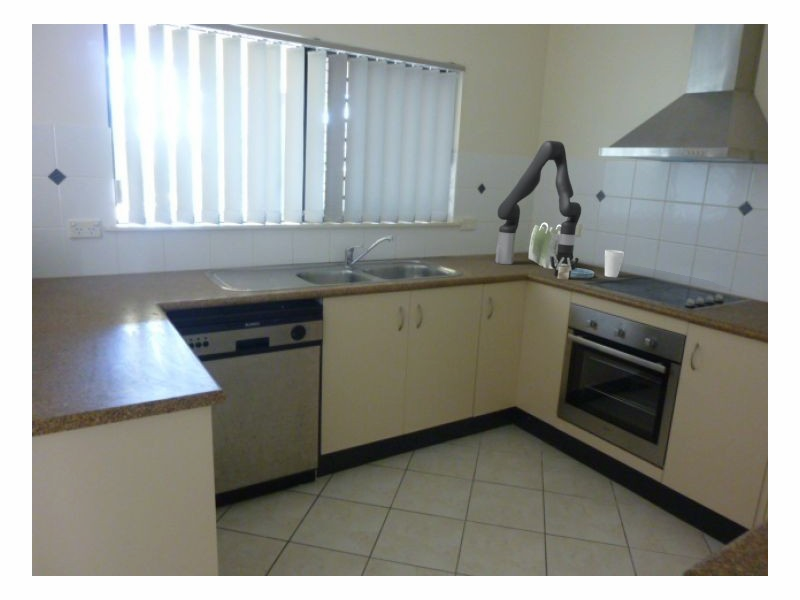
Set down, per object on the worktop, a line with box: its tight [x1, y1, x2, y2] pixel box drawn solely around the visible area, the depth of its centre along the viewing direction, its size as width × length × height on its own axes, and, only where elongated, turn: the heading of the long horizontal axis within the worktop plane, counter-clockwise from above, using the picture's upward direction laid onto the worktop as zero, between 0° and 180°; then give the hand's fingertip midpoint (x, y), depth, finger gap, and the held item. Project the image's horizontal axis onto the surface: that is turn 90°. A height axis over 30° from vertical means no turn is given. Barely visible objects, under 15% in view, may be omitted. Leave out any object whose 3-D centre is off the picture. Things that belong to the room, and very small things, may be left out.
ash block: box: [555, 265, 570, 280], centre depth 281 cm, size 5×5×6 cm
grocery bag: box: [527, 222, 567, 270], centre depth 322 cm, size 32×14×23 cm, turn 5°
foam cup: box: [604, 249, 625, 278], centre depth 294 cm, size 10×9×13 cm
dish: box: [569, 267, 595, 279], centre depth 292 cm, size 16×16×2 cm
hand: (561, 277), depth 281 cm, fingers closed on ash block, 5 cm apart
